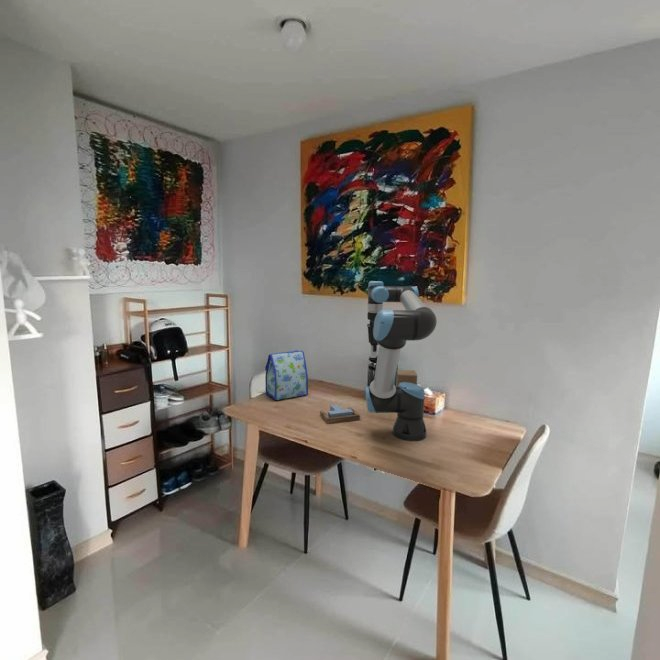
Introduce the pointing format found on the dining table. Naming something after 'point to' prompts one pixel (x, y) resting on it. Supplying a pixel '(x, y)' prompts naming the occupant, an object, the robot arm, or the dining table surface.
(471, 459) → the dining table surface
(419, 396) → the robot arm
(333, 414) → the tee
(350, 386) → the dining table surface
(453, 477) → the dining table surface
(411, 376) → the wooden block
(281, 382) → the lunch bag
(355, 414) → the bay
